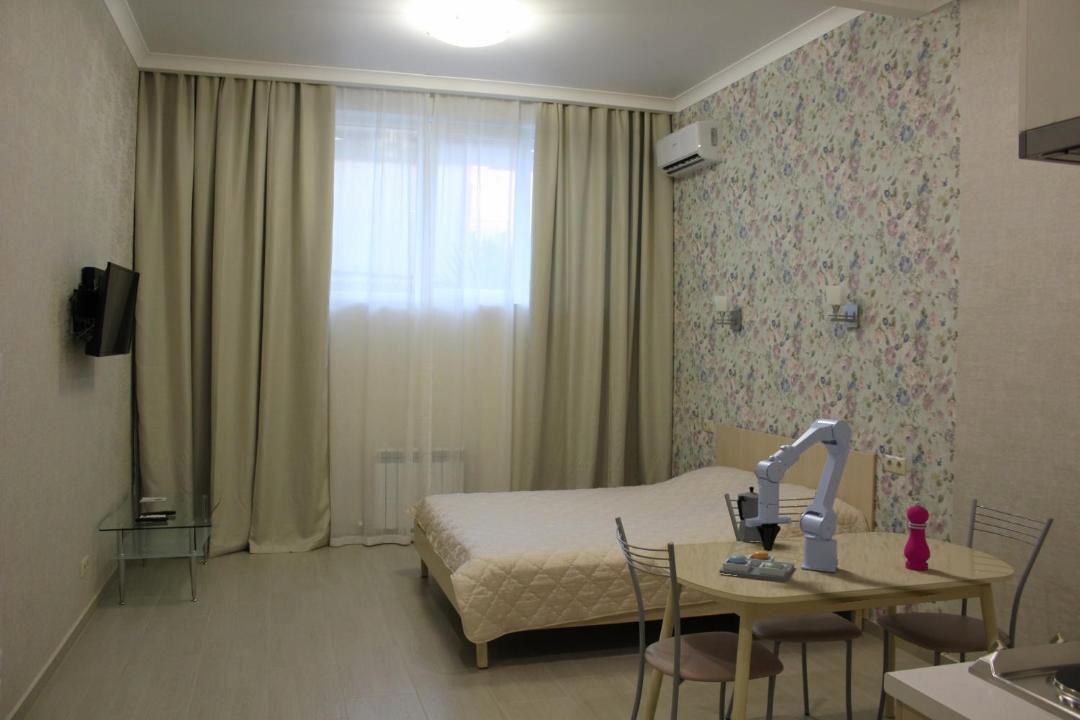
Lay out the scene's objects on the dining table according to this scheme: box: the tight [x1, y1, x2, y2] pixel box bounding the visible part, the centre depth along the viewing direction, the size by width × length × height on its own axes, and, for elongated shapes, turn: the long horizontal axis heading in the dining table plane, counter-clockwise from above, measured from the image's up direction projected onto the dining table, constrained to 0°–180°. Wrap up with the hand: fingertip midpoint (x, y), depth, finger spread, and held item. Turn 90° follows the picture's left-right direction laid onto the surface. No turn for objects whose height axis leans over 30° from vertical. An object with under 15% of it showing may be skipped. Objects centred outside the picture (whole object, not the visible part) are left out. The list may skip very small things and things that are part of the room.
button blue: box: [728, 554, 747, 564], centre depth 249 cm, size 5×5×2 cm
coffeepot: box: [736, 486, 762, 543], centre depth 294 cm, size 15×9×18 cm, turn 138°
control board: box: [718, 553, 795, 583], centre depth 251 cm, size 18×19×3 cm
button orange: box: [751, 550, 770, 560], centre depth 255 cm, size 5×5×2 cm
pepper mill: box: [903, 500, 931, 572], centre depth 258 cm, size 7×7×20 cm
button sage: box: [765, 562, 782, 569], centre depth 245 cm, size 5×5×2 cm
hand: (767, 550), depth 249 cm, fingers closed
